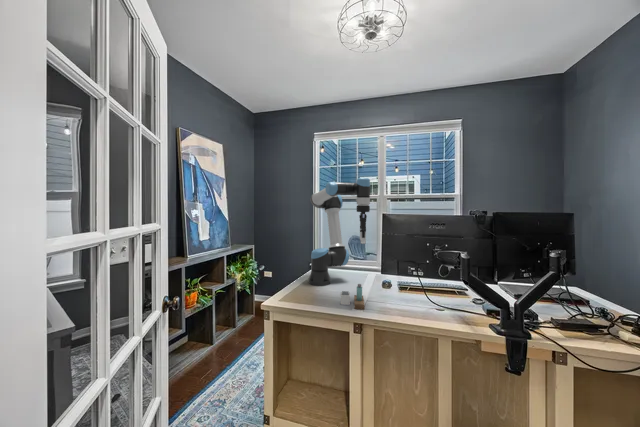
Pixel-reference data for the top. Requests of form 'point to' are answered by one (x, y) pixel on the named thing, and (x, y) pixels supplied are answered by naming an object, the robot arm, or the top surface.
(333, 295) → the top surface
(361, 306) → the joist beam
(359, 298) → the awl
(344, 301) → the pale grey block
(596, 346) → the top surface
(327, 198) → the robot arm
